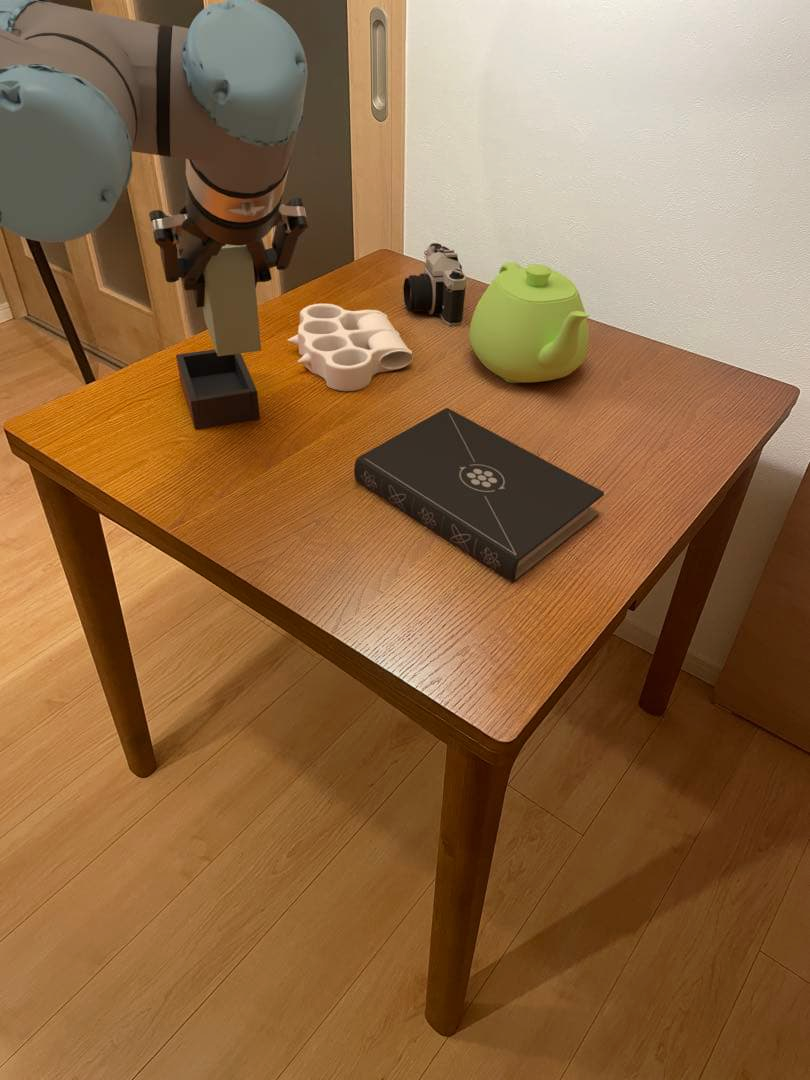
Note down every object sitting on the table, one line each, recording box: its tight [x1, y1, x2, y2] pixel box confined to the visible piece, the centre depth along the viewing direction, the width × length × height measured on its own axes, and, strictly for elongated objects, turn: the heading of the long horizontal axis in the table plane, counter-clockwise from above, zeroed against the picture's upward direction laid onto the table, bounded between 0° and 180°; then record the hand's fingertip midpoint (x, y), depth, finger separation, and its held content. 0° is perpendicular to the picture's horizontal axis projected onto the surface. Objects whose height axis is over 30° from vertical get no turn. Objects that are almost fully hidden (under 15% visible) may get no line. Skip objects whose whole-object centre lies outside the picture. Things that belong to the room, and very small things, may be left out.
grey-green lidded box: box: [202, 244, 262, 356], centre depth 81 cm, size 5×8×12 cm, turn 20°
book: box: [353, 407, 605, 583], centre depth 84 cm, size 22×15×3 cm
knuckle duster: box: [286, 303, 414, 392], centre depth 105 cm, size 3×18×15 cm
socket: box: [175, 348, 261, 430], centre depth 96 cm, size 8×11×4 cm
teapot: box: [468, 262, 590, 384], centre depth 101 cm, size 22×15×13 cm
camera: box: [403, 242, 468, 327], centre depth 115 cm, size 13×8×9 cm, turn 17°
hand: (222, 291), depth 85 cm, fingers closed on grey-green lidded box, 4 cm apart
